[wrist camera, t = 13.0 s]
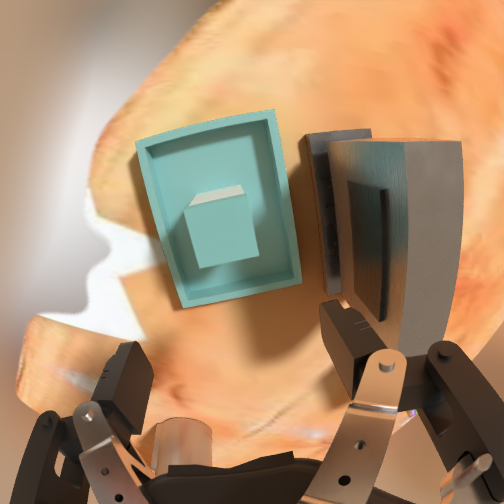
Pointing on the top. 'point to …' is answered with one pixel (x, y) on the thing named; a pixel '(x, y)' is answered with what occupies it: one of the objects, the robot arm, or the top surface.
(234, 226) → the relay
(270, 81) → the top surface
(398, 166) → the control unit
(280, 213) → the spare-part tray
